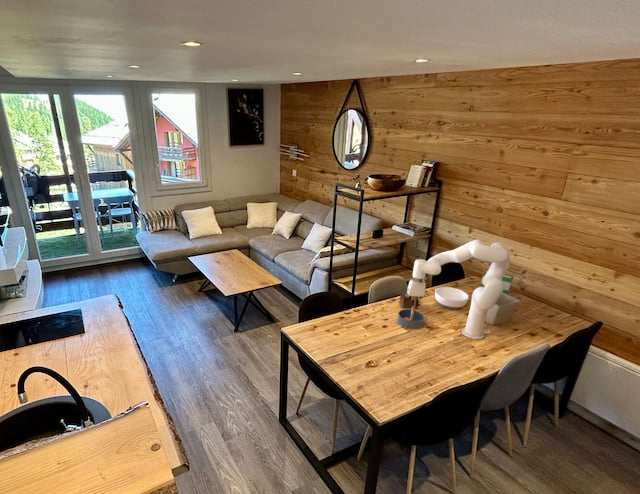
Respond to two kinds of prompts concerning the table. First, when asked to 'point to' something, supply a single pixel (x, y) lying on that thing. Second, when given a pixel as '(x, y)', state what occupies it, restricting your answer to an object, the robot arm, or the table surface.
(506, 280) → the green and white carton
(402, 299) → the stick holder
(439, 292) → the bowl
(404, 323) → the mixing bowl
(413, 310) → the stick
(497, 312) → the flower pot
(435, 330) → the table surface
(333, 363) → the table surface
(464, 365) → the table surface
